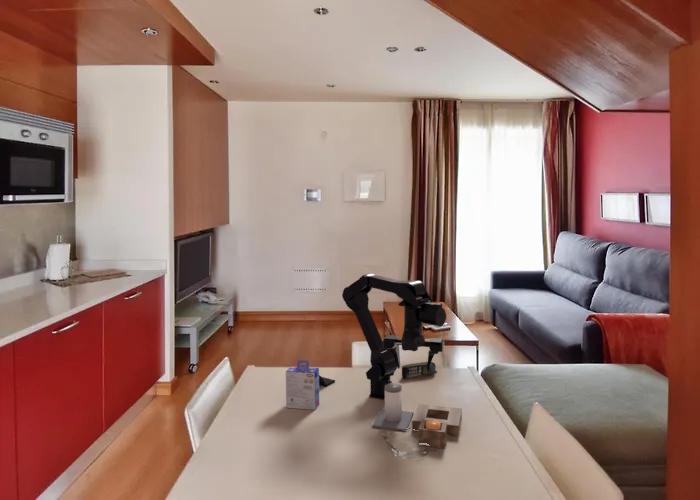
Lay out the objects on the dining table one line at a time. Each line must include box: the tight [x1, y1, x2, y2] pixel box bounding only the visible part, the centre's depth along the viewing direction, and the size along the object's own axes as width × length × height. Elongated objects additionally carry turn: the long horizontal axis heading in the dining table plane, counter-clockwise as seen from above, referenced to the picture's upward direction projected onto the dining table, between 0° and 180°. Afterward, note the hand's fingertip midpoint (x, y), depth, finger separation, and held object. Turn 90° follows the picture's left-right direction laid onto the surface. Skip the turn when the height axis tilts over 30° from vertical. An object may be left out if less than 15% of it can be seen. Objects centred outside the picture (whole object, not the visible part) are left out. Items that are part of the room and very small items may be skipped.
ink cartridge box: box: [285, 359, 320, 411], centre depth 161 cm, size 10×6×14 cm, turn 79°
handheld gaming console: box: [319, 374, 336, 388], centre depth 181 cm, size 12×7×10 cm
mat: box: [371, 408, 414, 431], centre depth 150 cm, size 10×12×1 cm
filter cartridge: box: [384, 382, 403, 422], centre depth 150 cm, size 5×5×10 cm
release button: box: [426, 420, 441, 430], centre depth 137 cm, size 4×4×4 cm
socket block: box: [411, 403, 463, 449], centre depth 143 cm, size 13×20×4 cm, turn 164°
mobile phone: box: [401, 361, 438, 380], centre depth 188 cm, size 5×3×15 cm
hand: (413, 369), depth 159 cm, fingers open, 9 cm apart
